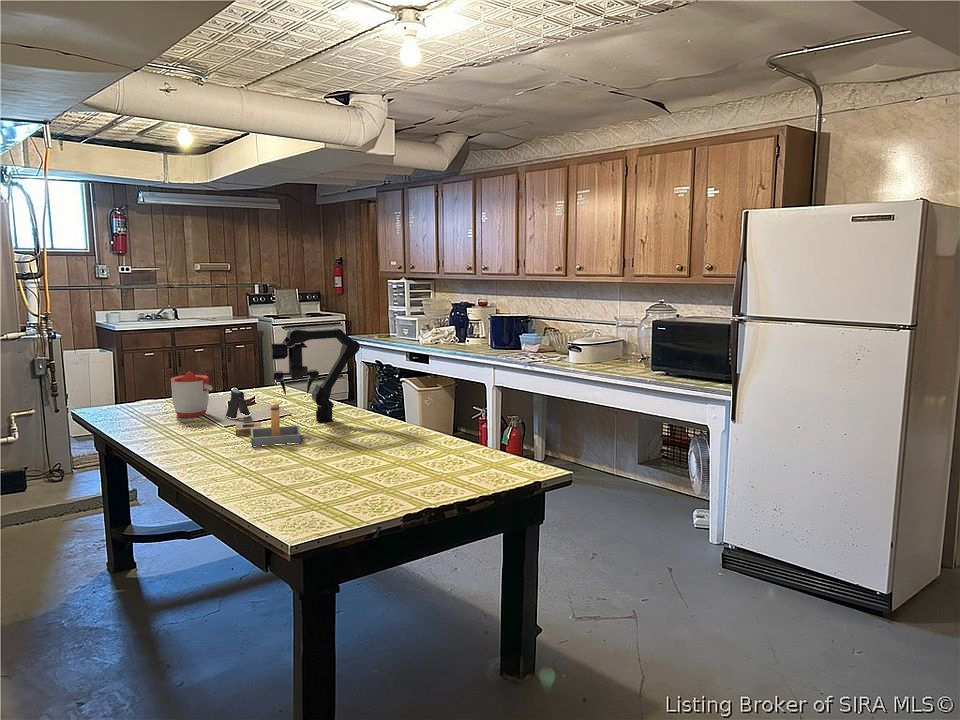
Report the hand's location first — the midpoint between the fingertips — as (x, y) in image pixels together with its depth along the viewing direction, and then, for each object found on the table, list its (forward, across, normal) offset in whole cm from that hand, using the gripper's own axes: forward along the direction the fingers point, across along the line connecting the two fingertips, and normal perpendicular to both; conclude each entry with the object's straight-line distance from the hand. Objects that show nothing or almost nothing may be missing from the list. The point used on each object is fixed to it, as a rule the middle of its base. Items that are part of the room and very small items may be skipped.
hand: (296, 394), depth 296 cm
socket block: (+13, -20, -8) cm, 25 cm away
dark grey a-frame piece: (+13, -24, +18) cm, 33 cm away
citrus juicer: (+13, -43, +27) cm, 52 cm away
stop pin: (+12, -10, -24) cm, 29 cm away
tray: (+13, -10, -24) cm, 29 cm away
